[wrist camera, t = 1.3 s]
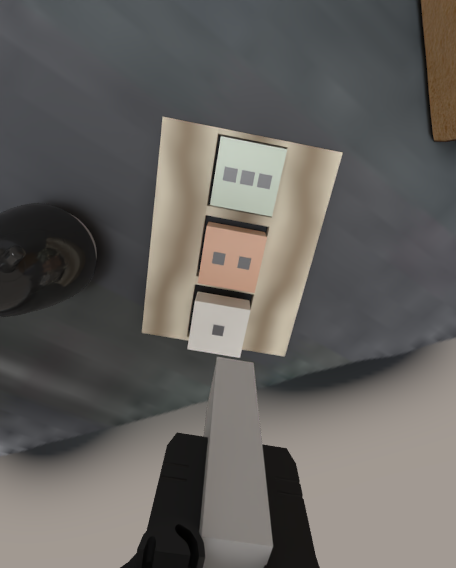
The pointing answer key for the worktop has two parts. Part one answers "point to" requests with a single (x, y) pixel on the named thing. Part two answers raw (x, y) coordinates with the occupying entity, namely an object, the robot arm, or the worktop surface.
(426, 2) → the bread
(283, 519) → the robot arm
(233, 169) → the tile three
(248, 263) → the tile two
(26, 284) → the pump dispenser
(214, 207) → the board
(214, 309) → the tile one
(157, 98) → the worktop surface
